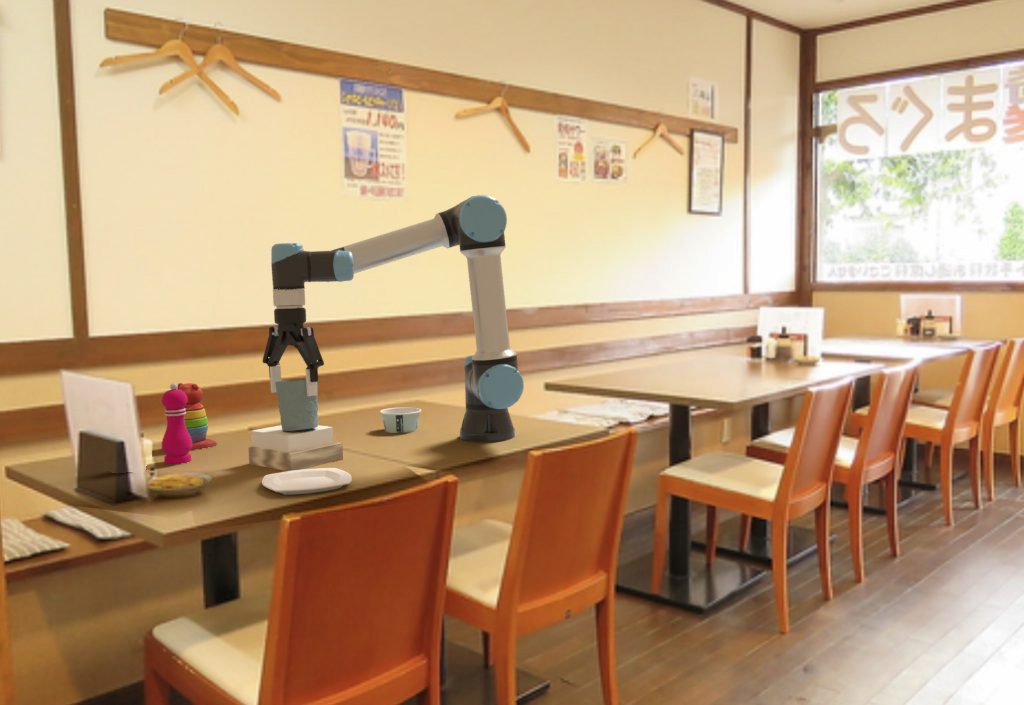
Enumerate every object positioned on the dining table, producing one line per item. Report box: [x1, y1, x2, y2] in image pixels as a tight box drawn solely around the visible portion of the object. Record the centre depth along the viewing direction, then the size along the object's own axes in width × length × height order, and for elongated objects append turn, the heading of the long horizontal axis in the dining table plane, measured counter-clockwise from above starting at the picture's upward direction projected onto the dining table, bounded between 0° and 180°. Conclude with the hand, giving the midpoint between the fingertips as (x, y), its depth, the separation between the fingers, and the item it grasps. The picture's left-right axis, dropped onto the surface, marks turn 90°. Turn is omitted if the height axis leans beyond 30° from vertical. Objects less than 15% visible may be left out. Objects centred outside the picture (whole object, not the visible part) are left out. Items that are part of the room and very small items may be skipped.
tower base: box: [248, 441, 344, 472], centre depth 218 cm, size 16×16×5 cm
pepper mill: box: [161, 382, 192, 465], centre depth 221 cm, size 7×7×20 cm
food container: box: [379, 406, 422, 434], centre depth 257 cm, size 12×12×6 cm
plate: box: [261, 467, 353, 496], centre depth 194 cm, size 19×19×2 cm
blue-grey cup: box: [275, 377, 319, 431], centre depth 216 cm, size 10×10×12 cm
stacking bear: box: [177, 382, 218, 451], centre depth 239 cm, size 11×10×18 cm
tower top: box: [250, 424, 335, 453], centre depth 218 cm, size 14×14×4 cm
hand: (294, 394), depth 217 cm, fingers open, 13 cm apart
